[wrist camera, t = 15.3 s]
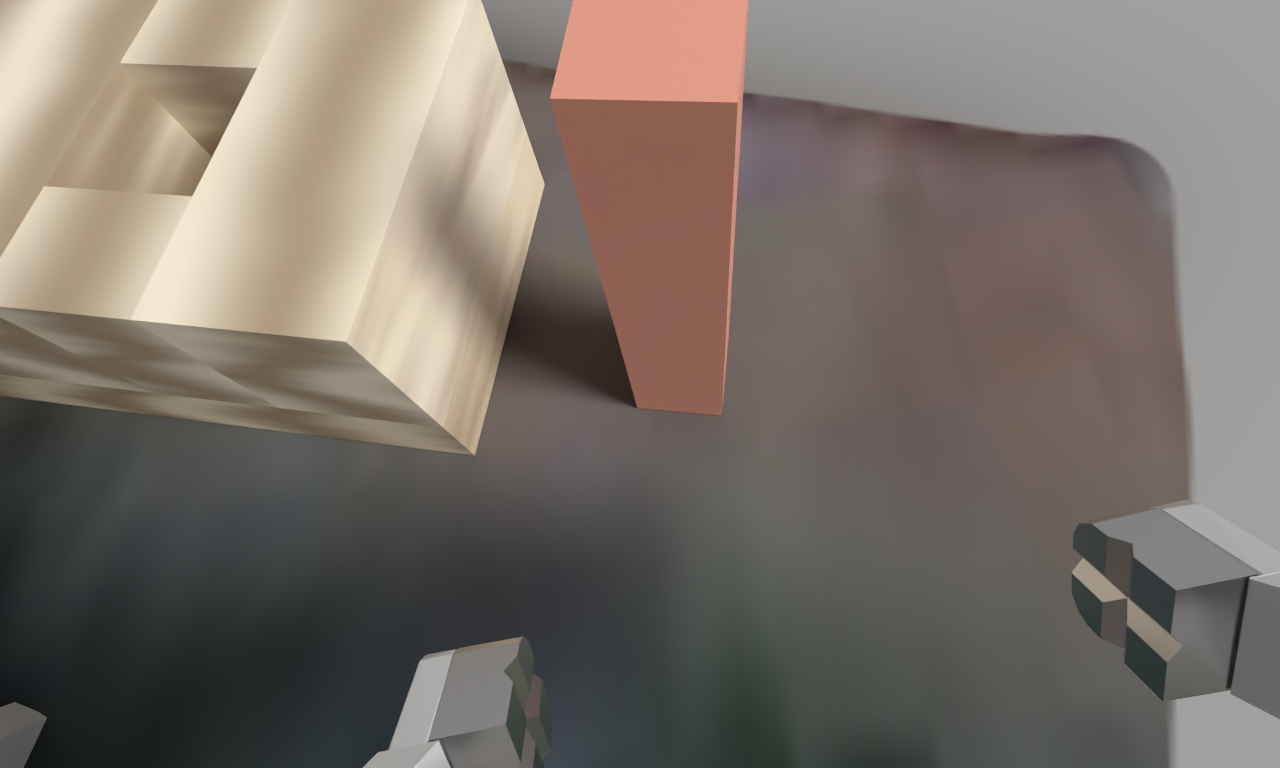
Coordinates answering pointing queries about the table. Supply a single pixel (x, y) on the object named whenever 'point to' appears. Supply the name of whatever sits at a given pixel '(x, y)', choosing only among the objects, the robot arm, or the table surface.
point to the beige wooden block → (262, 212)
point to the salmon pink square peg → (659, 180)
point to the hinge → (18, 734)
